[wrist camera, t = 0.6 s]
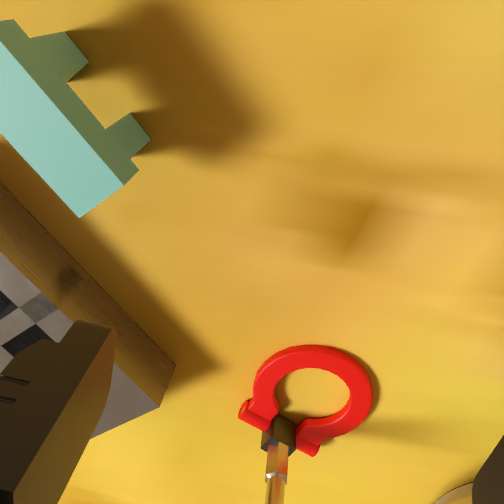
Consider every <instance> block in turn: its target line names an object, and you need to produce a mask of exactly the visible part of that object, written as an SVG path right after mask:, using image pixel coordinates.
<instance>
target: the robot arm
mask: <svg viewBox="0 0 504 504" xmlns="http://www.w3.org/2000/svg"><path fill="white" fill-rule="evenodd" d="M116 336H117V332H116V329H115V328H112V327H107V326H103V325H99V324H95V323H91V322H87V321H83V320H77V321H75V322H74V323H73V325H72V326H71V327H70V329H69V330H68V331H67V333H66V334H65V336H64V337H63V338H62V340H61V341H60V342H59V343H58V342H54V341H50V340H46V339H41V340H39V341H37V342H36V343H34V344H32V345H31V346H29V347H27V348H25V349H24V350H22V351H20V352H19V353H17V354H16V355H15V356H14V358H13V359H12V360H11V361H10V362H9V364H8V365H7V366H6V367H5V368H4V370H3V371H2V372H1V373H0V504H57V503H58V501H59V499H60V497H61V495H62V493H63V491H64V489H65V487H66V485H67V483H68V481H69V479H70V477H71V475H72V473H73V471H74V469H75V467H76V465H77V463H78V461H79V459H80V457H81V455H82V453H83V451H84V449H85V447H86V445H87V443H88V441H89V440H90V438H91V436H92V434H93V432H94V430H95V428H96V426H97V424H98V422H99V420H100V417H101V415H102V413H103V411H104V408H105V405H106V402H107V399H108V395H109V391H110V387H111V379H112V371H113V362H114V354H115V345H116ZM472 504H504V435H503V437H502V438H501V440H500V441H499V443H498V444H497V446H496V447H495V449H494V450H493V452H492V453H491V455H490V456H489V457H488V459H487V460H486V462H485V463H484V465H483V466H482V468H481V469H480V471H479V472H478V474H477V475H476V477H475V479H474V482H473V487H472Z"/></svg>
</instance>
